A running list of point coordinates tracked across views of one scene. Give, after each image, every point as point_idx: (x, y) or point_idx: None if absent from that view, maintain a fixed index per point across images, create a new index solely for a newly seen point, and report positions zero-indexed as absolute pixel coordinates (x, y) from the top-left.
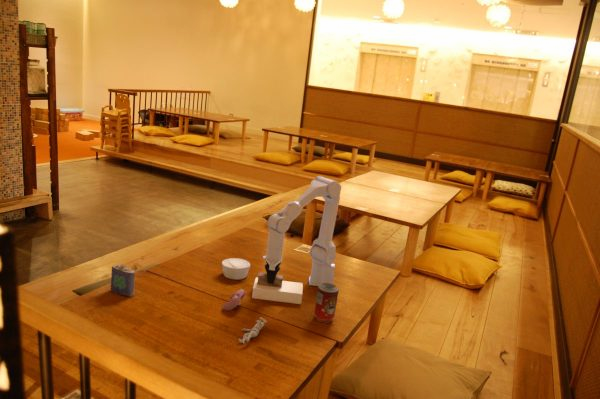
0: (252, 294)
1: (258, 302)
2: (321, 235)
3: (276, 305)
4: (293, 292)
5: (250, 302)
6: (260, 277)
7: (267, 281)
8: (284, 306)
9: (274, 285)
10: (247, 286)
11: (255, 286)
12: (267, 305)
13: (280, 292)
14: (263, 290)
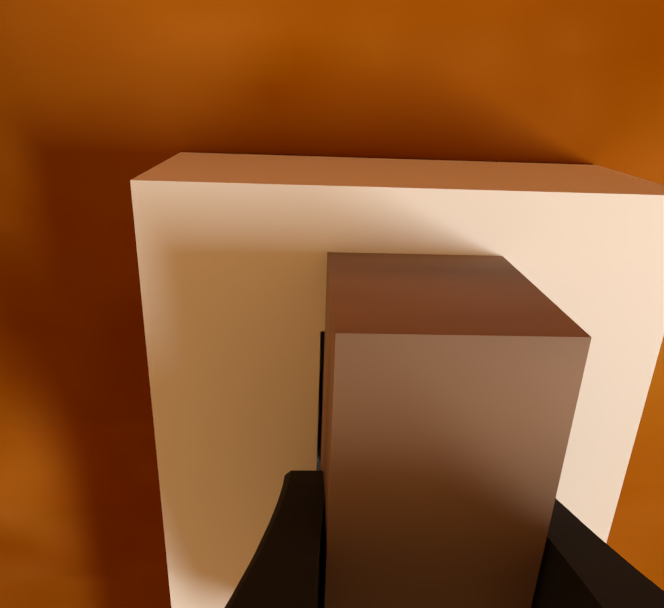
0: (165, 163)
1: (75, 258)
2: None
3: (84, 471)
4: None
5: (23, 142)
6: (330, 373)
7: (283, 489)
8: (96, 546)
9: None
10: (603, 39)
11: (220, 224)
12: (36, 375)
13: (175, 596)
14: (154, 368)
